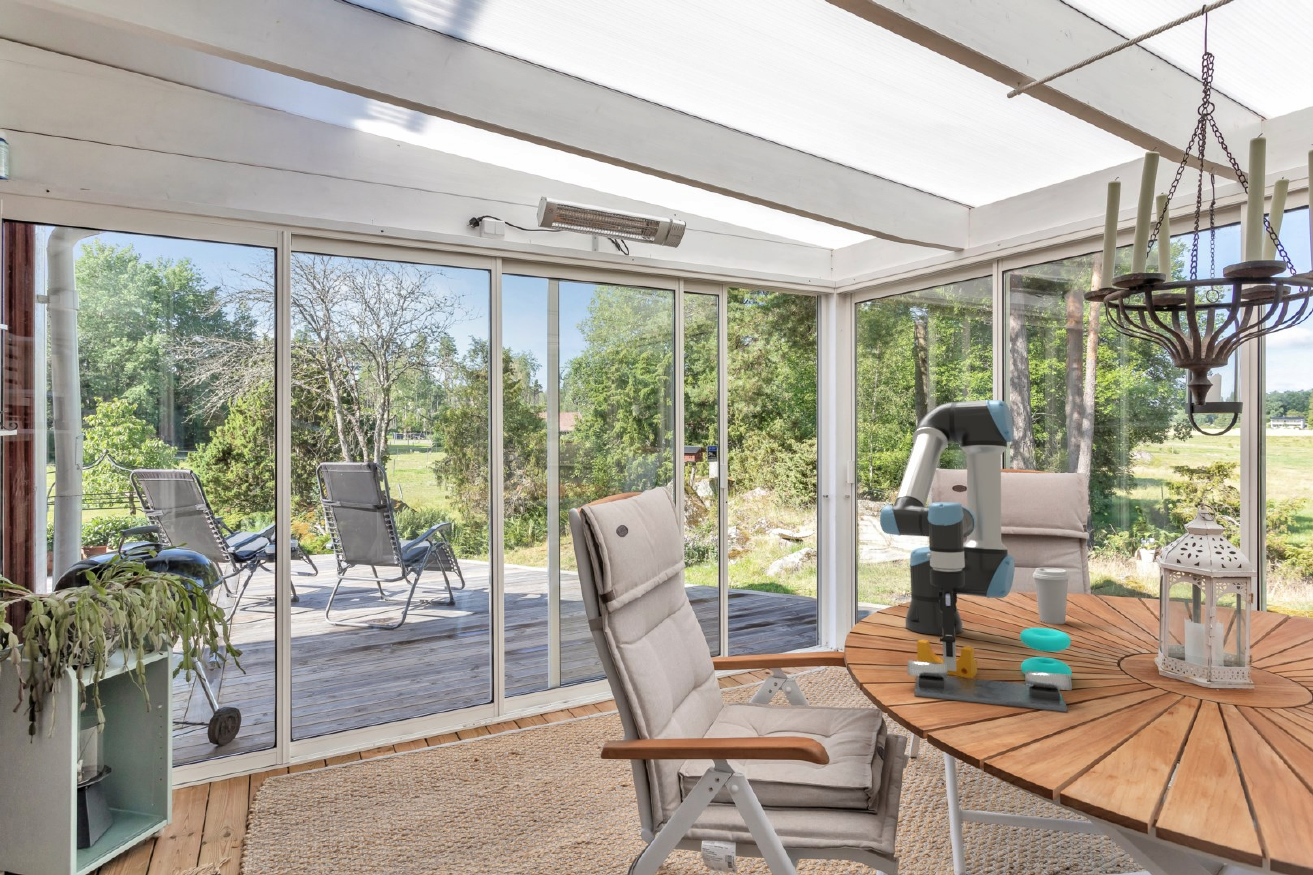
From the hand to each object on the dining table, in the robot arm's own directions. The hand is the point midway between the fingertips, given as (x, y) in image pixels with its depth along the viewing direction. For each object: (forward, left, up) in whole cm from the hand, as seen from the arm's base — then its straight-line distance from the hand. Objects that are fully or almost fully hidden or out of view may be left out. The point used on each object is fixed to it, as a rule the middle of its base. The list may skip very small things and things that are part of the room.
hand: (949, 662), depth 164 cm
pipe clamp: (+1, -1, -2) cm, 2 cm away
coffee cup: (-55, +28, -2) cm, 62 cm away
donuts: (-1, +20, -2) cm, 20 cm away
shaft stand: (+15, +7, -1) cm, 17 cm away
